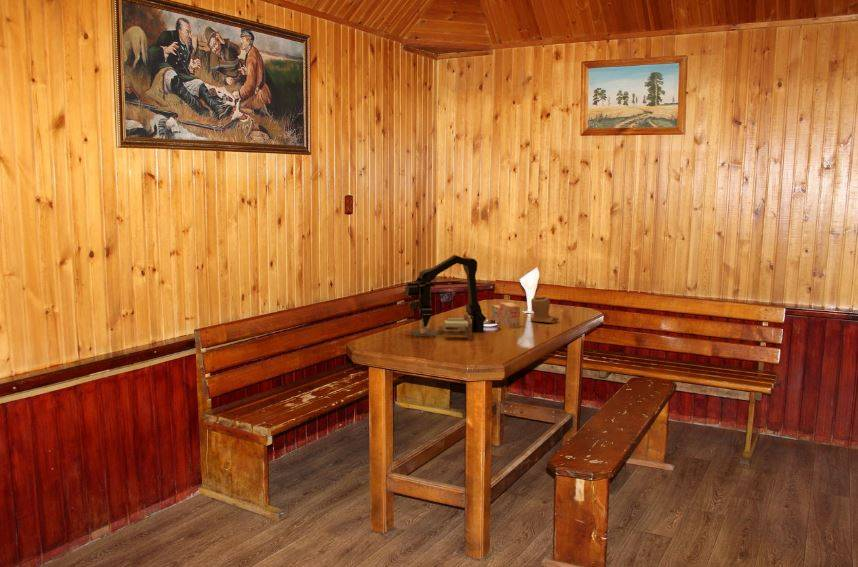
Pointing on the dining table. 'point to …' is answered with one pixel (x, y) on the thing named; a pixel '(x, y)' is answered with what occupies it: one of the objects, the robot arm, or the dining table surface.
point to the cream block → (424, 329)
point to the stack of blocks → (506, 314)
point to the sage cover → (456, 322)
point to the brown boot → (542, 310)
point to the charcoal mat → (431, 333)
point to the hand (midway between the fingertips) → (424, 325)
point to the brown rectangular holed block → (457, 329)
